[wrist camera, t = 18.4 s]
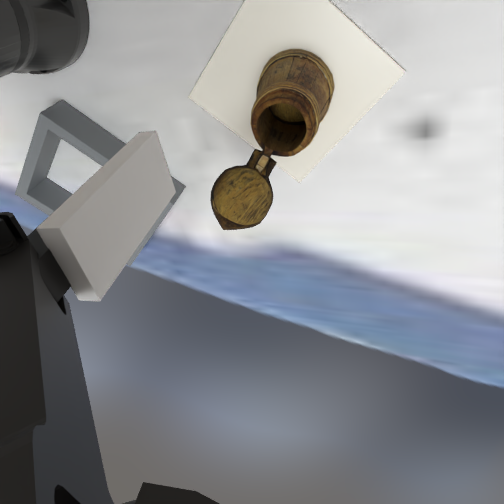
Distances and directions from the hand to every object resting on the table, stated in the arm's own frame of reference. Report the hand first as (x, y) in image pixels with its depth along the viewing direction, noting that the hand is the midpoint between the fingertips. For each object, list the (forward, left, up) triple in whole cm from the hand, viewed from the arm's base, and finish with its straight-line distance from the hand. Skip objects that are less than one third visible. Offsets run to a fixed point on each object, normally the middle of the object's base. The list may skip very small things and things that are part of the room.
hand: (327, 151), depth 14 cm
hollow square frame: (-13, -39, -35) cm, 54 cm away
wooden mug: (+1, -12, -34) cm, 36 cm away
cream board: (0, -10, -35) cm, 36 cm away
